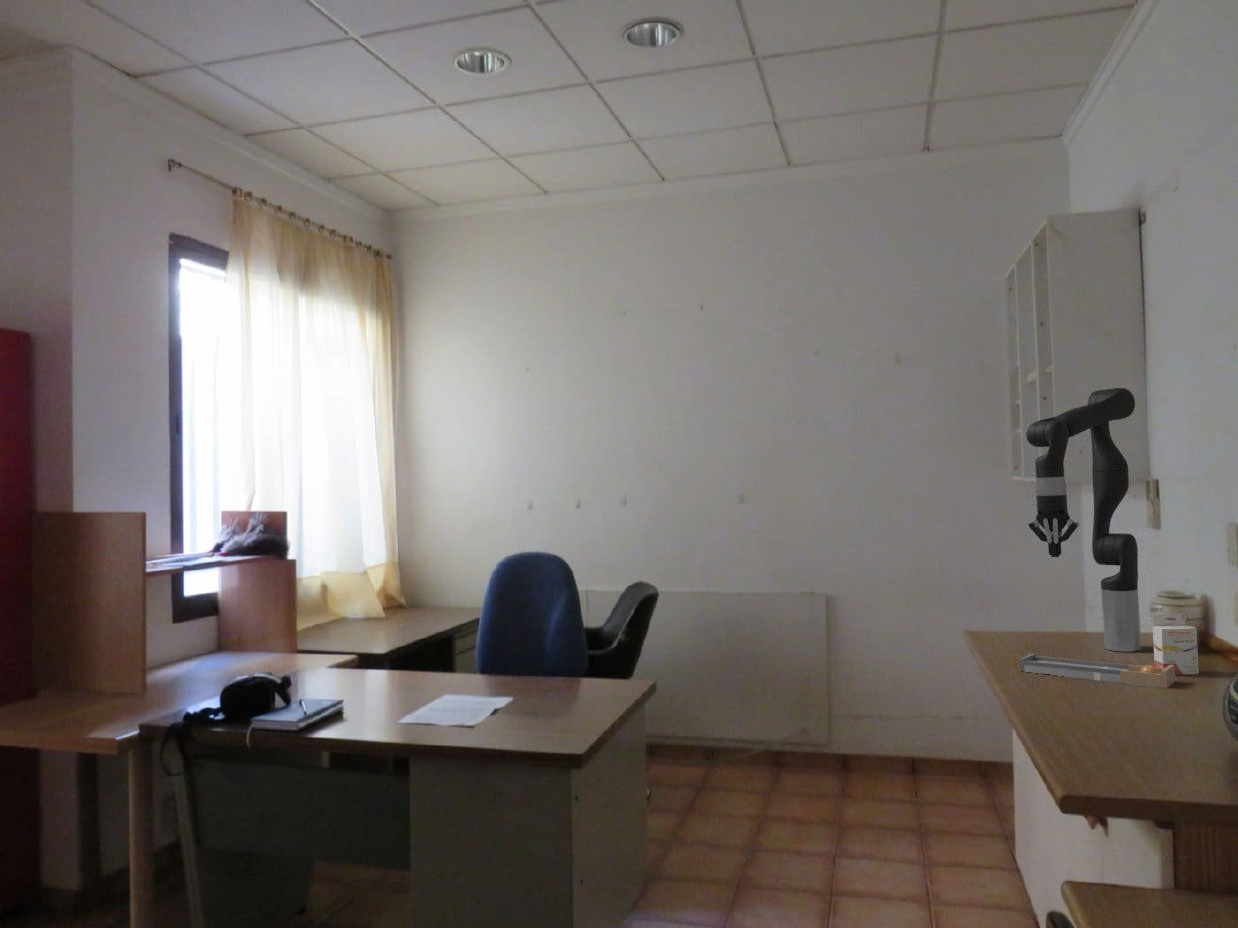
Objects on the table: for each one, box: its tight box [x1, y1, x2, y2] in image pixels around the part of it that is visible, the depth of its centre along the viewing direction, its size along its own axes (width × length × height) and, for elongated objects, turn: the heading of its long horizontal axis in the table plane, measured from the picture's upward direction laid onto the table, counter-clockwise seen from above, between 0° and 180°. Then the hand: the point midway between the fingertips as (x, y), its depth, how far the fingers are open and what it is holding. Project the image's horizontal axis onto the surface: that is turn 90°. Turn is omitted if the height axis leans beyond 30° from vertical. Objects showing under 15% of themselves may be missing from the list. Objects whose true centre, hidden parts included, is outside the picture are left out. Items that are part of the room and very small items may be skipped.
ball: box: [1140, 664, 1159, 674], centre depth 219 cm, size 4×4×4 cm
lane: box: [1019, 653, 1176, 689], centre depth 228 cm, size 8×34×4 cm, turn 45°
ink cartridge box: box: [1152, 612, 1200, 676], centre depth 228 cm, size 9×5×15 cm, turn 84°
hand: (1055, 556), depth 246 cm, fingers closed
